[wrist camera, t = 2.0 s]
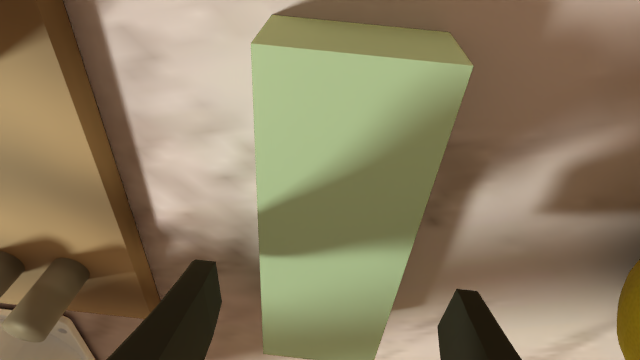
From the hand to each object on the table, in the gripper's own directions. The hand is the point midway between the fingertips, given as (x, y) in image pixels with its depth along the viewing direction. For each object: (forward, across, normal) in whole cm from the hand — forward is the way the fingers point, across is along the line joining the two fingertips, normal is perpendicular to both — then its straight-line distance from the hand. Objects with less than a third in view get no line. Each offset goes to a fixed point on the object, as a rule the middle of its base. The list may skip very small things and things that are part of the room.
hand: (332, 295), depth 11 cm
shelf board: (+4, 0, 0) cm, 5 cm away
